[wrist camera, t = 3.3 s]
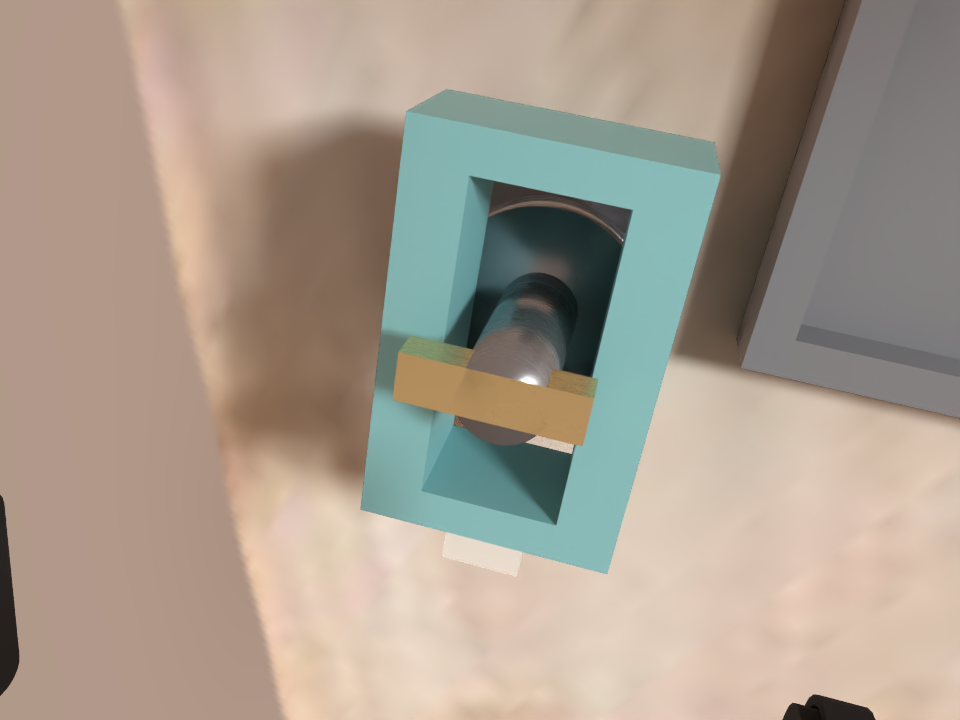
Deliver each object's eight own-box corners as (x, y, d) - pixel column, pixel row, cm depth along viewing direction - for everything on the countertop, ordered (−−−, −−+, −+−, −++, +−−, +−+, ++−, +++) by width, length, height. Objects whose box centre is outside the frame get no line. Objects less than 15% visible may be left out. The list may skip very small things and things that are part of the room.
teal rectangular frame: (446, 88, 18) (406, 110, 15) (714, 142, 17) (721, 174, 15) (394, 481, 22) (355, 551, 20) (605, 535, 22) (595, 616, 19)
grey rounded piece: (701, 174, 21) (713, 284, 14) (643, 387, 24) (627, 573, 16) (464, 125, 22) (358, 207, 14) (433, 338, 24) (330, 495, 17)
